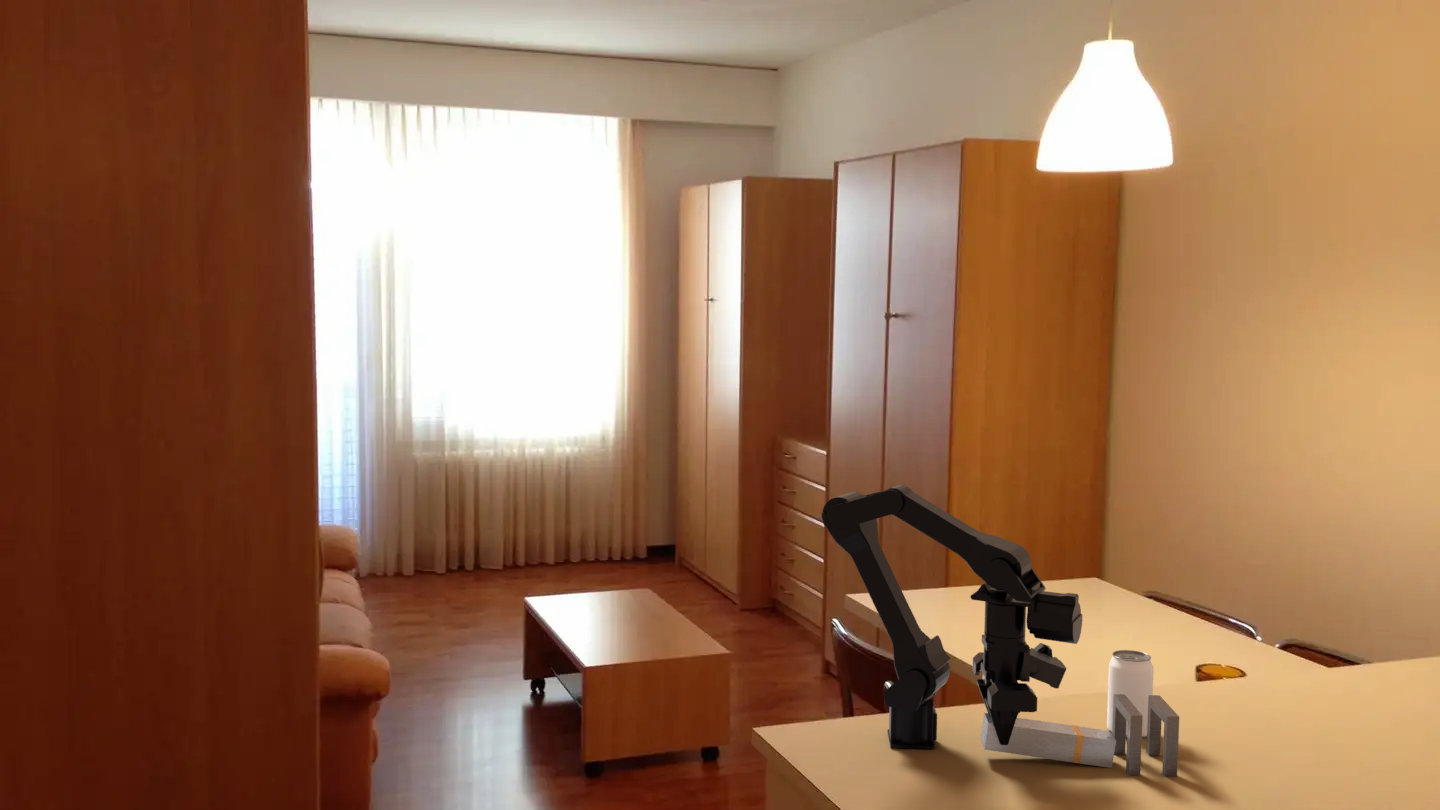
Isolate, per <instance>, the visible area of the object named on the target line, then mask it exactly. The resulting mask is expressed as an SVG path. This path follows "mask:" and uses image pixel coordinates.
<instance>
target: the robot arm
mask: <svg viewBox="0 0 1440 810" xmlns="http://www.w3.org/2000/svg"><path fill="white" fill-rule="evenodd" d="M820 514H821V521H822V523H823V525H824V527H825V529H826V530H827V532H828V534H829V535H830V536H831V538H832V539H833V540H834V542H835V543H836V544H837V545H838V546H840V547H841V549H842V550H843V551H844V552H845V553H847V554H848V555H849V556H850V558H851V560H852V561H853V564H854V566H855V568H856V570H857V572H858V574H859V576H860V578H861V580H862V582H863V584H864V586H865V588H866V590H867V593H868V594H869V597H870V599H871V602H872V603H873V605H874V607H875V610H876V612H877V613H878V616H879V618H880V620H881V622H882V624H883V627H884V629H885V631H886V633H887V635H888V637H889V639H890V642H891V644H892V653H893V654H892V656H893V666H894V669H895V673H896V676H897V680H896V681H895V682H894V683H892V684H891V686H889V687H888V688H887V689H886V690H884V691H883V693H882V695H883V698H884V700H885V705H886V706H887V708H889V709H888V712H889V713H888V714H889V716H888V721H889V722H888V725H889V726H888V729H887V730H886V731H887V732H886V733H887V738H888V743H889V747H890V748H896V749H897V748H900V749H931V750H932V749H935V742H936V741H937V737H938V712H937V710H936V708H934V703H933V699H932V697H935V696H936V694H937V692H938V690H939V689H941V688H942V687H943V686H944V685H945V684H947V682H948V680H949V677H950V674H951V666H950V663H949V662H951V660H952V658H951V657H950V655H948V654H947V651H945V648H944V645H943V643H942V640H941V637H940V636H939V635H935V636H933V637H932V638H930V637H929V635H927V634H926V633H925V632H923V631H922V629H921V627H920V626H919V623H918V622H917V619H916V617H915V616H914V613H913V612H912V609H911V607H910V605H909V602H908V600H907V599H906V597H905V594H904V593H903V590H902V588H901V587H900V585H899V582H898V580H897V578H896V576H895V574H894V572H893V570H892V567H891V566H890V564H889V561H888V559H887V557H886V555H885V553H884V551H883V549H882V547H881V545H880V541H879V540H880V539H879V526H878V520H877V519H880V518H883V517H888V516H891V515H892V516H895V517H896V518H898V519H899V520H901V521H903V522H904V523H905V524H907V525H909V526H911V527H912V528H914V529H916V530H918V531H919V532H920V533H922V534H924V535H925V536H927V537H929V538H930V539H932V540H934V541H935V542H937V543H938V544H940V545H942V546H943V547H945V548H947V549H948V550H950V551H952V553H954V554H957V555H958V556H959V557H960V558H961V559H963V561H965V563H966V564H967V565H968V567H969V568H970V569H971V571H972V572H973V573H975V575H977V576H978V578H980V579H981V580H982V581H983V583H982V584H981V585H980V586H979V588H978V589H977V590H976V591H975V592H973V593H972V594H970V599H971V600H972V601H980V602H985V603H984V605H985V606H984V628H983V629H984V632H983V634H981V643H982V645H983V652H982V651H981V652H978V653H976V654H975V655H974V656H973V657H972V665H971V666H972V672H973V675H974V676H979V675H980V674H981V673H982V677H981V678H978V679H976V684H977V686H978V689H979V692H980V695H981V699H982V700H983V703H984V705H985V706H984V707H985V709H986V713H988V714H990V716H991V719H992V722H993V725H994V728H995V731H996V734H997V737H998V739H999V742H1000V744H1001V745H1008V743H1009V740H1010V737H1011V734H1012V731H1013V727H1014V724H1015V721H1016V718H1018V715H1019V714H1020V713H1035V712H1036V713H1037V712H1038V696H1037V695H1036V693H1035V691H1034V690H1033V689H1032V688H1031V686H1029V684H1027V683H1023V682H1029V683H1030V680H1031V679H1034V680H1036V681H1039V682H1041V683H1044V684H1046V685H1049V687H1051V688H1053V689H1057V690H1058V689H1059V688H1060V687H1061V686H1060V685H1061V683H1062V681H1063V678H1064V676H1065V675H1066V671H1067V669H1068V668H1067V667H1066V665H1065V664H1064V663H1063V662H1062V661H1061V659H1059V658H1058V657H1056V656H1053V649H1052V648H1051V646H1049V645H1047V644H1045V643H1042V642H1039V644H1038V645H1036V646H1035V647H1033V648H1032V647H1030V645H1029V644H1028V643H1027V641H1026V628H1027V629H1028V631H1029V634H1031V635H1033V637H1034V638H1035V639H1039V640H1040V639H1041V640H1046V641H1053V642H1060V643H1065V644H1066V643H1067V644H1072V645H1073V644H1074V645H1077V644H1078V643H1079V640H1080V637H1081V634H1082V628H1083V627H1082V626H1083V613H1082V611H1081V610H1082V609H1081V604H1080V602H1079V600H1080V599H1079V598H1080V597H1079V596H1080V595H1079V594H1078V593H1073V592H1066V593H1063V592H1062V593H1061V592H1054V591H1046V589H1047V588H1046V586H1045V584H1044V583H1043V582H1042V581H1041V579H1040V578H1039V576H1038V574H1037V573H1036V571H1035V569H1034V568H1033V567H1032V560H1031V557H1030V553H1029V552H1028V550H1027V549H1025V547H1024V546H1022V545H1020V544H1017V543H1015V542H1013V541H1010V540H1007V539H1005V538H1003V537H1000V536H996V535H993V534H988V533H985V532H982V531H979V530H977V529H976V528H974V527H972V526H970V525H969V524H967V523H966V522H964V521H962V520H960V519H959V518H957V517H955V516H954V515H952V514H951V513H949V512H947V511H945V510H944V509H942V508H940V507H938V506H937V505H936V504H934V503H932V502H930V501H929V500H927V499H926V498H924V497H922V496H921V495H919V494H917V493H916V492H914V490H912V488H910V487H909V486H907V485H904V484H898V485H895V486H892V487H889V488H887V489H885V490H880V491H876V492H872V493H869V494H863V493H860V492H858V491H851V492H848V493H845V494H841V495H838V496H836V497H832V498H830V499H829V500H828V501H827V502H826V503H825V504H824V506H823V509H822V513H820ZM980 672H981V673H980ZM1030 678H1031V679H1030ZM1019 681H1020V682H1019Z"/></svg>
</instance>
